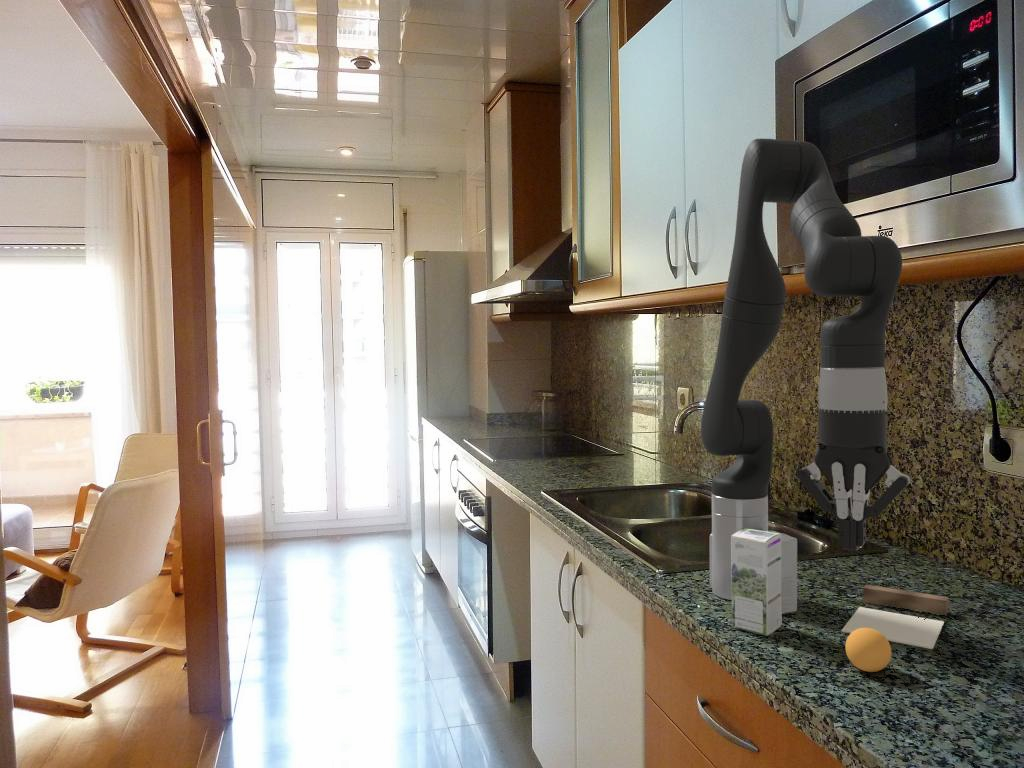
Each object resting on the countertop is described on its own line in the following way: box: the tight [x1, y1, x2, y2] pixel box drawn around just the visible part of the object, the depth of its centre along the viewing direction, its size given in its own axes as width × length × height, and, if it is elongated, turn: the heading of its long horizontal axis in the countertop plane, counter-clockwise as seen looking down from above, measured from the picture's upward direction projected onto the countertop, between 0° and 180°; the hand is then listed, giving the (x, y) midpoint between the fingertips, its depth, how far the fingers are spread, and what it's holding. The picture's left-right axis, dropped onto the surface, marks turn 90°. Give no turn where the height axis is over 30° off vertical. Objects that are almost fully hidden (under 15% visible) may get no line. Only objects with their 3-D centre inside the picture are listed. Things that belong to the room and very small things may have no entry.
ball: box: [845, 628, 892, 673], centre depth 101 cm, size 6×6×6 cm
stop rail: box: [862, 584, 949, 617], centre depth 124 cm, size 12×2×2 cm, turn 54°
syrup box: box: [731, 529, 783, 637], centre depth 117 cm, size 6×6×14 cm
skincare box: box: [766, 530, 798, 615], centre depth 125 cm, size 6×4×12 cm
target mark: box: [841, 606, 945, 650], centre depth 116 cm, size 12×12×1 cm
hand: (852, 548), depth 93 cm, fingers closed
